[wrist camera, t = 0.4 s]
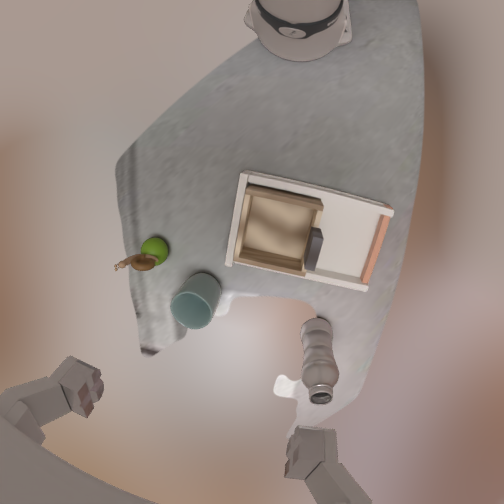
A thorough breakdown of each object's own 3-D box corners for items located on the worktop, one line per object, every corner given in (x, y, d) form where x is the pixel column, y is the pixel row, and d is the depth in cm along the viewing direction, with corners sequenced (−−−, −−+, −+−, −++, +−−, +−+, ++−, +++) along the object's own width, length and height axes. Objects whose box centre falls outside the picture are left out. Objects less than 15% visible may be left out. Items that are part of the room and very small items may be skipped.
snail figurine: (143, 231, 56) (112, 253, 45) (172, 235, 56) (144, 259, 45) (144, 256, 58) (115, 282, 47) (172, 261, 58) (146, 288, 47)
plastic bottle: (306, 310, 58) (309, 381, 39) (336, 318, 58) (349, 389, 39) (295, 334, 60) (293, 406, 42) (324, 341, 60) (331, 413, 42)
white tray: (245, 169, 49) (240, 173, 44) (387, 204, 48) (397, 211, 43) (230, 253, 56) (224, 265, 50) (362, 282, 54) (368, 296, 49)
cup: (202, 260, 57) (185, 283, 48) (232, 285, 58) (221, 312, 49) (180, 284, 60) (162, 309, 50) (209, 308, 61) (195, 336, 52)
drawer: (251, 183, 49) (240, 194, 39) (322, 199, 48) (330, 215, 38) (239, 248, 54) (226, 274, 43) (305, 262, 53) (308, 292, 43)
